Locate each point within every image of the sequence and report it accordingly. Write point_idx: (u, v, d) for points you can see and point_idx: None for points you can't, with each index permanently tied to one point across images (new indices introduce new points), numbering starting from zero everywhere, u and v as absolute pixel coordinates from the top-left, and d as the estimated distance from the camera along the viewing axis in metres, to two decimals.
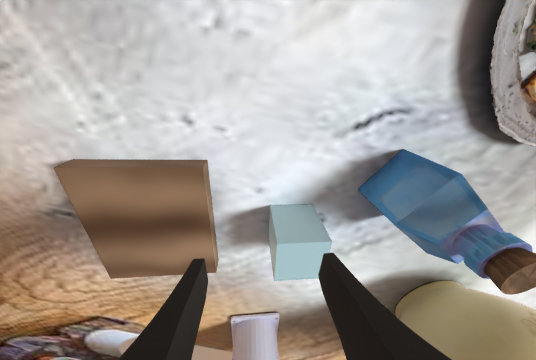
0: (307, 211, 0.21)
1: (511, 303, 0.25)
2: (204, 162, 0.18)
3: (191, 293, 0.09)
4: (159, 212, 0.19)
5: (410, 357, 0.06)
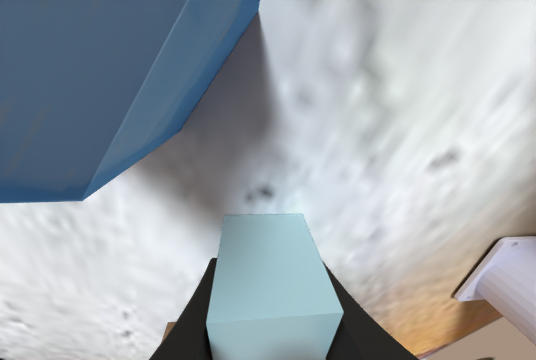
0: None
1: None
2: (165, 332, 0.16)
3: None
4: None
5: None
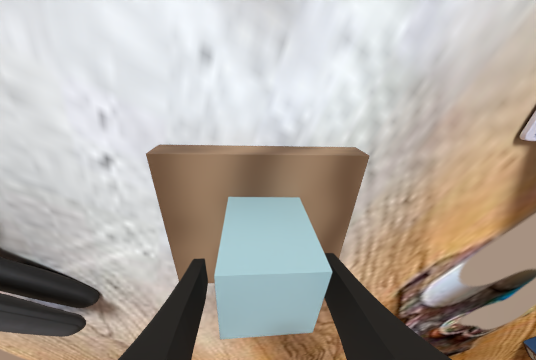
0: None
1: None
2: None
3: (191, 293, 0.09)
4: None
5: (410, 357, 0.06)
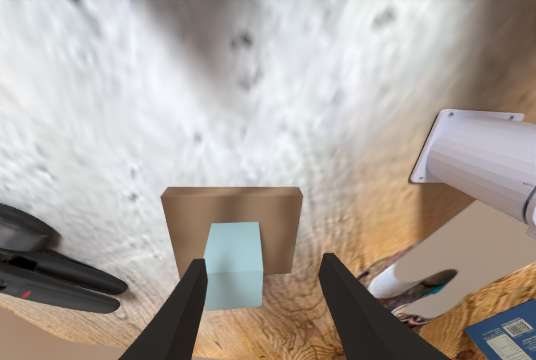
0: None
1: None
2: None
3: (191, 293, 0.09)
4: None
5: (409, 357, 0.06)
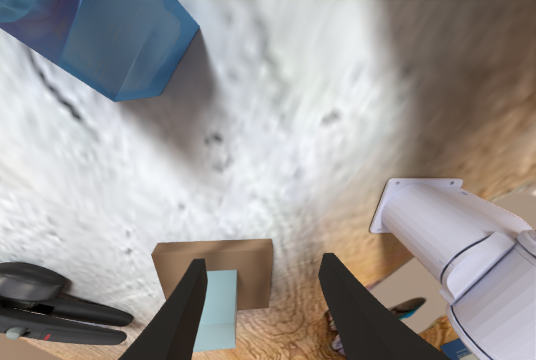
0: None
1: None
2: (156, 246, 0.23)
3: (191, 293, 0.09)
4: None
5: (409, 357, 0.06)
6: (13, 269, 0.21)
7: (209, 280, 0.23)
